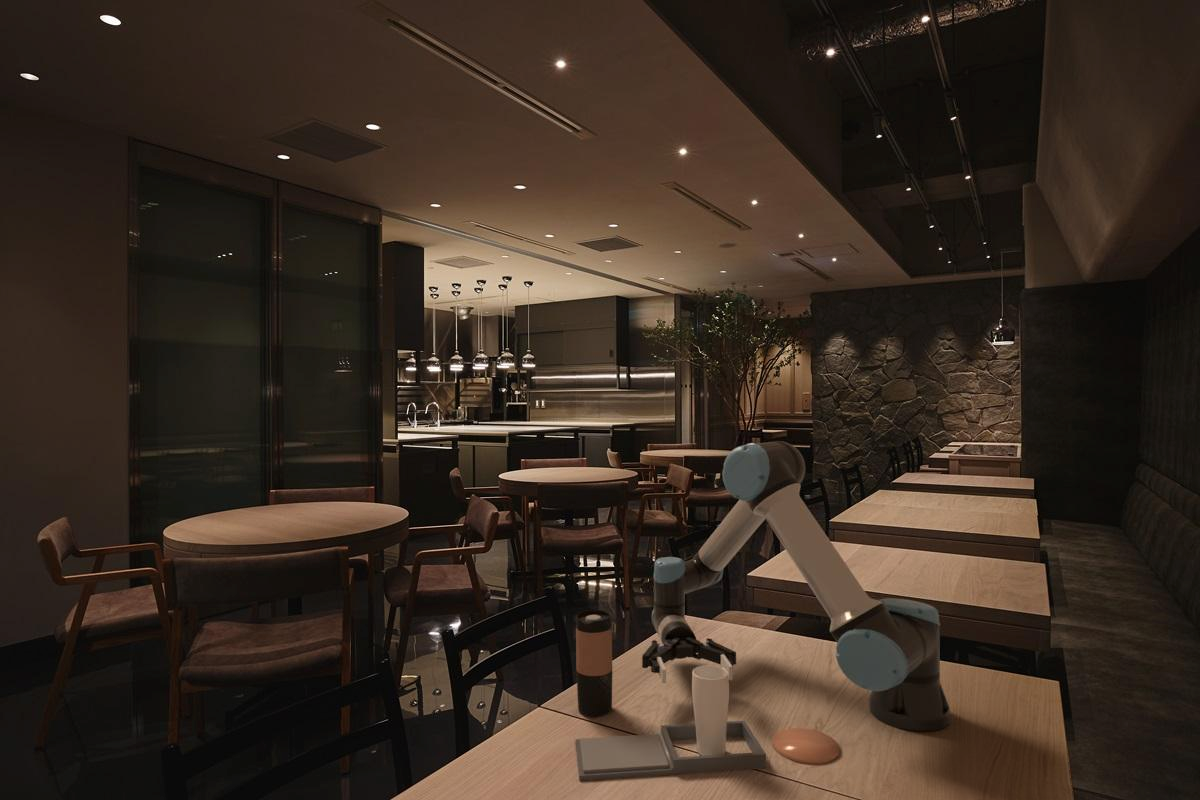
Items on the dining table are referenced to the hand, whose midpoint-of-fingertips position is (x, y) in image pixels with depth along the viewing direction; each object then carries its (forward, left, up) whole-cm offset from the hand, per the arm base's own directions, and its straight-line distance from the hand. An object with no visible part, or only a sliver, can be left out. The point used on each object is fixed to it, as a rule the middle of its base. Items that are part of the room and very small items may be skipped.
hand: (697, 675), depth 137 cm
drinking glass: (0, +11, -10) cm, 15 cm away
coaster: (-18, +11, -10) cm, 23 cm away
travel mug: (+20, -9, -10) cm, 24 cm away
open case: (+8, +11, -10) cm, 17 cm away
